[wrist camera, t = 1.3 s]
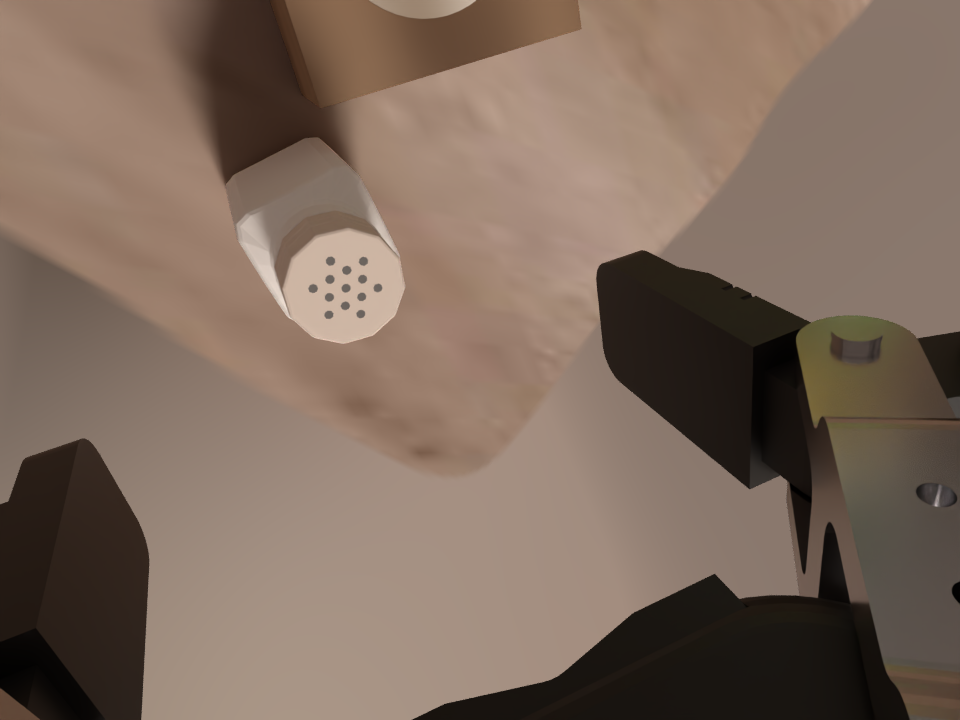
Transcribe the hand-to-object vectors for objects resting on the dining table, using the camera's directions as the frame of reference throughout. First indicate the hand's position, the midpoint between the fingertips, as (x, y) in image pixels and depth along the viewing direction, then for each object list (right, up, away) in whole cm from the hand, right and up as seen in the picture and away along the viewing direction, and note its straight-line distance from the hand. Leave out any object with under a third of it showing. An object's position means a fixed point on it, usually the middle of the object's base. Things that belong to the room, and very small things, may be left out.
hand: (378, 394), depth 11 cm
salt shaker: (-5, +7, +15) cm, 17 cm away
